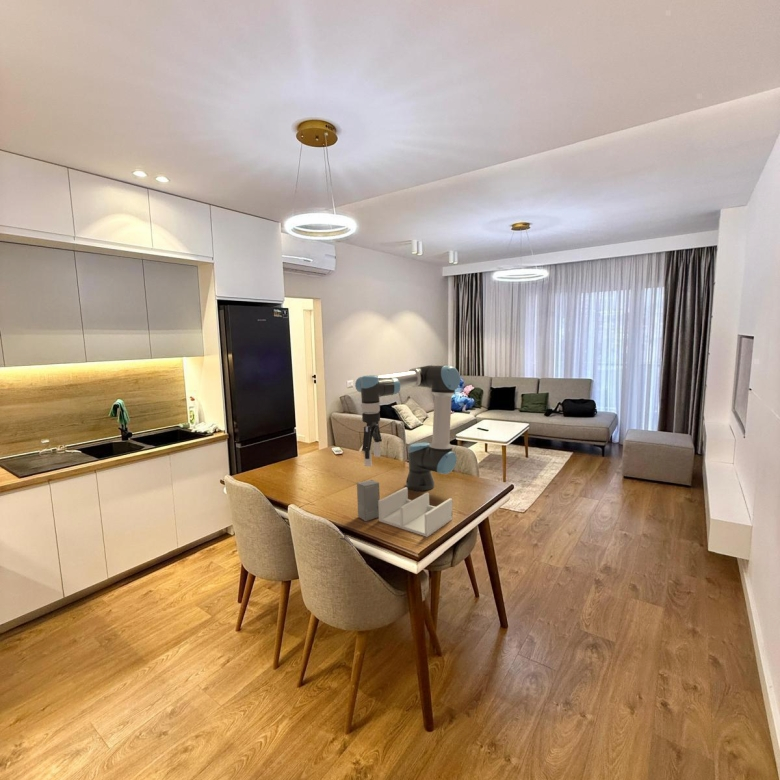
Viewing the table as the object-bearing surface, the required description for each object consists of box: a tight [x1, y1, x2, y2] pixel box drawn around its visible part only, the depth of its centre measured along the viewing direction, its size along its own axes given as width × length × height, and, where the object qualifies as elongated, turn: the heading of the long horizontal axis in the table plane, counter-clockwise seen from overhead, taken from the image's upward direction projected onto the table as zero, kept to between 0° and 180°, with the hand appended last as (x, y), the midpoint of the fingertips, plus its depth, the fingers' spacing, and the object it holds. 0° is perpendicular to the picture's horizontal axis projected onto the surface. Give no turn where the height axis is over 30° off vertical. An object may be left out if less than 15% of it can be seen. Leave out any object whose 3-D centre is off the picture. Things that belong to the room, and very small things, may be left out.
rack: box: [378, 486, 453, 538], centre depth 176 cm, size 20×25×9 cm
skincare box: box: [356, 479, 381, 522], centre depth 181 cm, size 8×7×16 cm
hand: (372, 461), depth 174 cm, fingers open, 13 cm apart
